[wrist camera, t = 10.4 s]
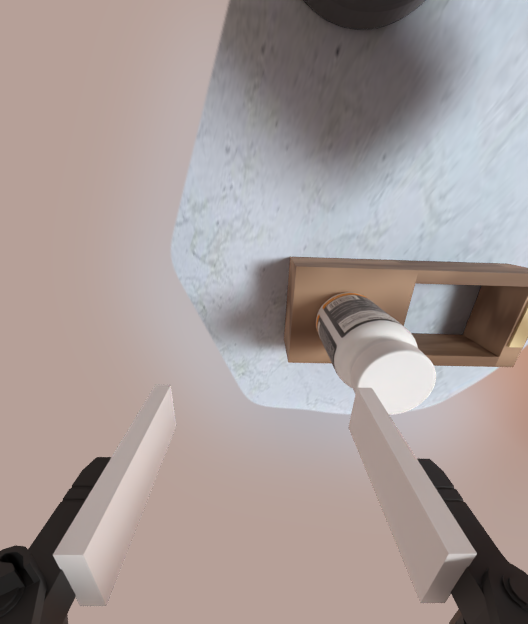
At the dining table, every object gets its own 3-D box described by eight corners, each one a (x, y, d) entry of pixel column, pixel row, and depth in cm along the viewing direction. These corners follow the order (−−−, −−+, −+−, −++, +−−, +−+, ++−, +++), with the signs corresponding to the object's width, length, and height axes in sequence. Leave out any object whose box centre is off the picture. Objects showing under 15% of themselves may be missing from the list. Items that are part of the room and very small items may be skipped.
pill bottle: (359, 349, 25) (416, 429, 16) (306, 336, 24) (333, 412, 15) (383, 298, 23) (466, 356, 14) (326, 282, 22) (373, 333, 13)
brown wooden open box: (290, 256, 26) (296, 266, 21) (507, 263, 27) (561, 275, 22) (283, 339, 30) (288, 363, 25) (475, 343, 31) (515, 368, 26)
